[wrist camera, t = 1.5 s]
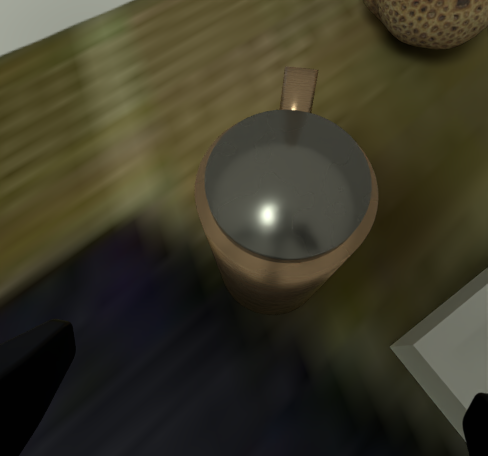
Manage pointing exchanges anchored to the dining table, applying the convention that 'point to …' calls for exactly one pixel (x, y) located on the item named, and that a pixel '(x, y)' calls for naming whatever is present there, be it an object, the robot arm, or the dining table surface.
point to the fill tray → (451, 350)
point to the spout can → (284, 200)
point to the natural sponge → (432, 20)
